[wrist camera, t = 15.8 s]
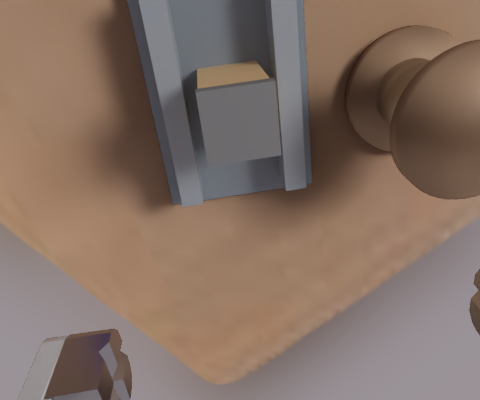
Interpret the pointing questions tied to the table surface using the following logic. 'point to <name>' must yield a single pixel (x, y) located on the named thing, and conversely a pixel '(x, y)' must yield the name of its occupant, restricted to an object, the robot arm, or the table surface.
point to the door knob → (421, 107)
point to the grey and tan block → (238, 113)
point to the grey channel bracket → (216, 54)
